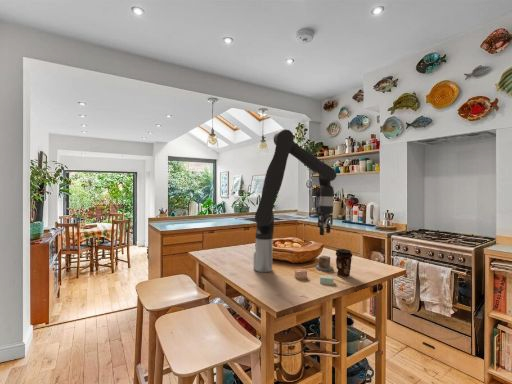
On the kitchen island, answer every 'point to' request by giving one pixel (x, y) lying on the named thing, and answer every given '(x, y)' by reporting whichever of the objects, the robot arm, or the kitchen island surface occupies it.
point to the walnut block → (324, 262)
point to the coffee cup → (343, 262)
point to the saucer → (324, 268)
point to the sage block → (326, 279)
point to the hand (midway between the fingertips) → (325, 234)
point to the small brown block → (301, 274)
